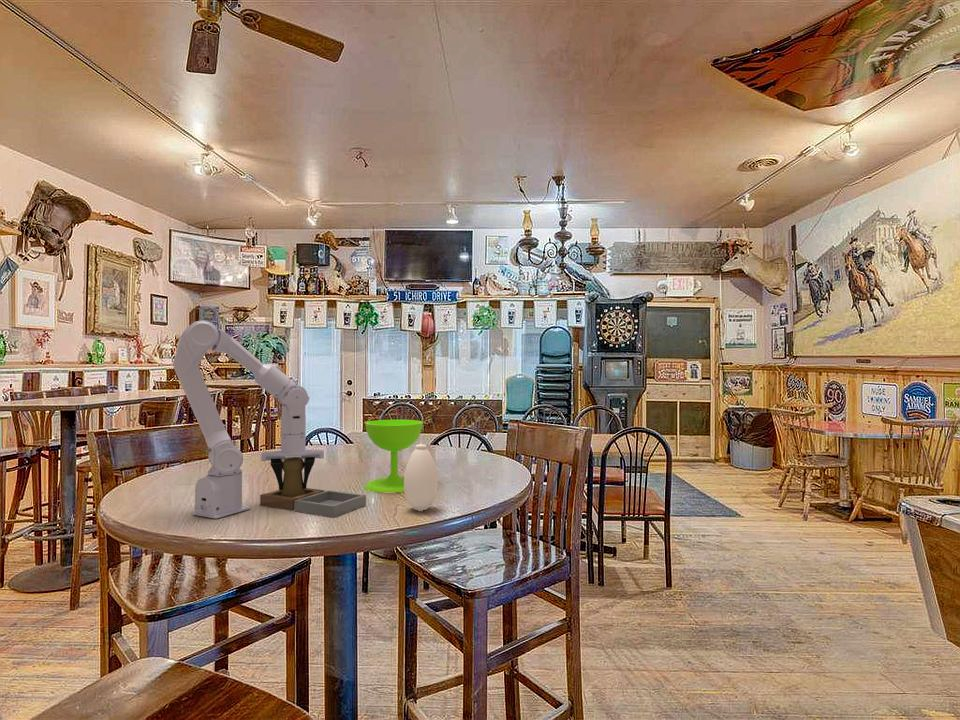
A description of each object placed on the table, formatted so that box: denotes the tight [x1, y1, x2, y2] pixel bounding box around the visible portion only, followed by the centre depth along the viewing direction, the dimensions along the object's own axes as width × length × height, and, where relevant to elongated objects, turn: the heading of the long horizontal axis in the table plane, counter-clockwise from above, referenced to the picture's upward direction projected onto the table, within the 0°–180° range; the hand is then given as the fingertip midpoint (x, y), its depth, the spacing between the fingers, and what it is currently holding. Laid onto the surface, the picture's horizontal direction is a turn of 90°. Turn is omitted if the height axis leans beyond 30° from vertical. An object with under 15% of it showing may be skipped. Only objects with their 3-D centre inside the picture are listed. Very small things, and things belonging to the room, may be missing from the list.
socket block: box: [259, 487, 325, 511], centre depth 132 cm, size 11×11×2 cm
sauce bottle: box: [403, 433, 439, 512], centre depth 126 cm, size 8×8×18 cm
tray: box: [293, 489, 367, 518], centre depth 127 cm, size 12×12×2 cm
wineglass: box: [364, 419, 424, 493], centre depth 150 cm, size 16×16×18 cm
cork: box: [281, 458, 305, 497], centre depth 132 cm, size 6×6×11 cm
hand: (292, 488), depth 132 cm, fingers closed on cork, 5 cm apart
